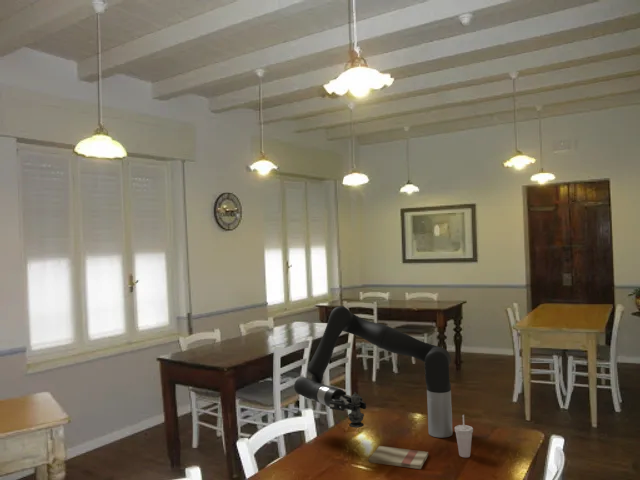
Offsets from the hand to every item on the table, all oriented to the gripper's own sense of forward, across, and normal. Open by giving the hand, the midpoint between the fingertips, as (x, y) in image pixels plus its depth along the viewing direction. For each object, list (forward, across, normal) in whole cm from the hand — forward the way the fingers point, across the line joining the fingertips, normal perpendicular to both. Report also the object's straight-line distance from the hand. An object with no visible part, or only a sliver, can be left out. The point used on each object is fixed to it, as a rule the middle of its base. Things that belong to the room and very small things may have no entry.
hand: (360, 407), depth 192 cm
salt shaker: (-3, 0, +7) cm, 8 cm away
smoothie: (+23, +27, +18) cm, 40 cm away
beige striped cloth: (+10, +8, +18) cm, 22 cm away
